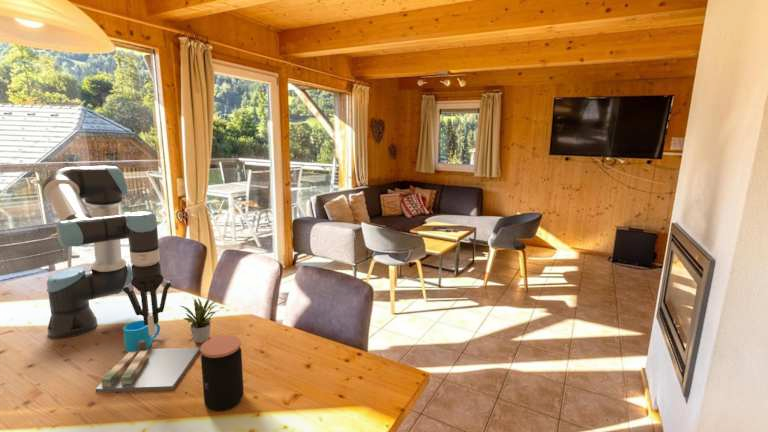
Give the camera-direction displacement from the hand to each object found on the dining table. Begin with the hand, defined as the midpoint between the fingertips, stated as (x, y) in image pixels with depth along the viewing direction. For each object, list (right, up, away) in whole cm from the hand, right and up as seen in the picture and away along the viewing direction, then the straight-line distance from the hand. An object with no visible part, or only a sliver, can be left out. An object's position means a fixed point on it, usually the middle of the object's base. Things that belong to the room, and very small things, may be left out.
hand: (152, 332), depth 122 cm
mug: (-15, -10, +20) cm, 27 cm away
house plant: (+6, -10, +24) cm, 27 cm away
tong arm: (-6, -13, +2) cm, 14 cm away
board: (-3, -14, +5) cm, 15 cm away
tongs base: (-10, -12, +4) cm, 16 cm away
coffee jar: (+27, -17, -9) cm, 33 cm away
